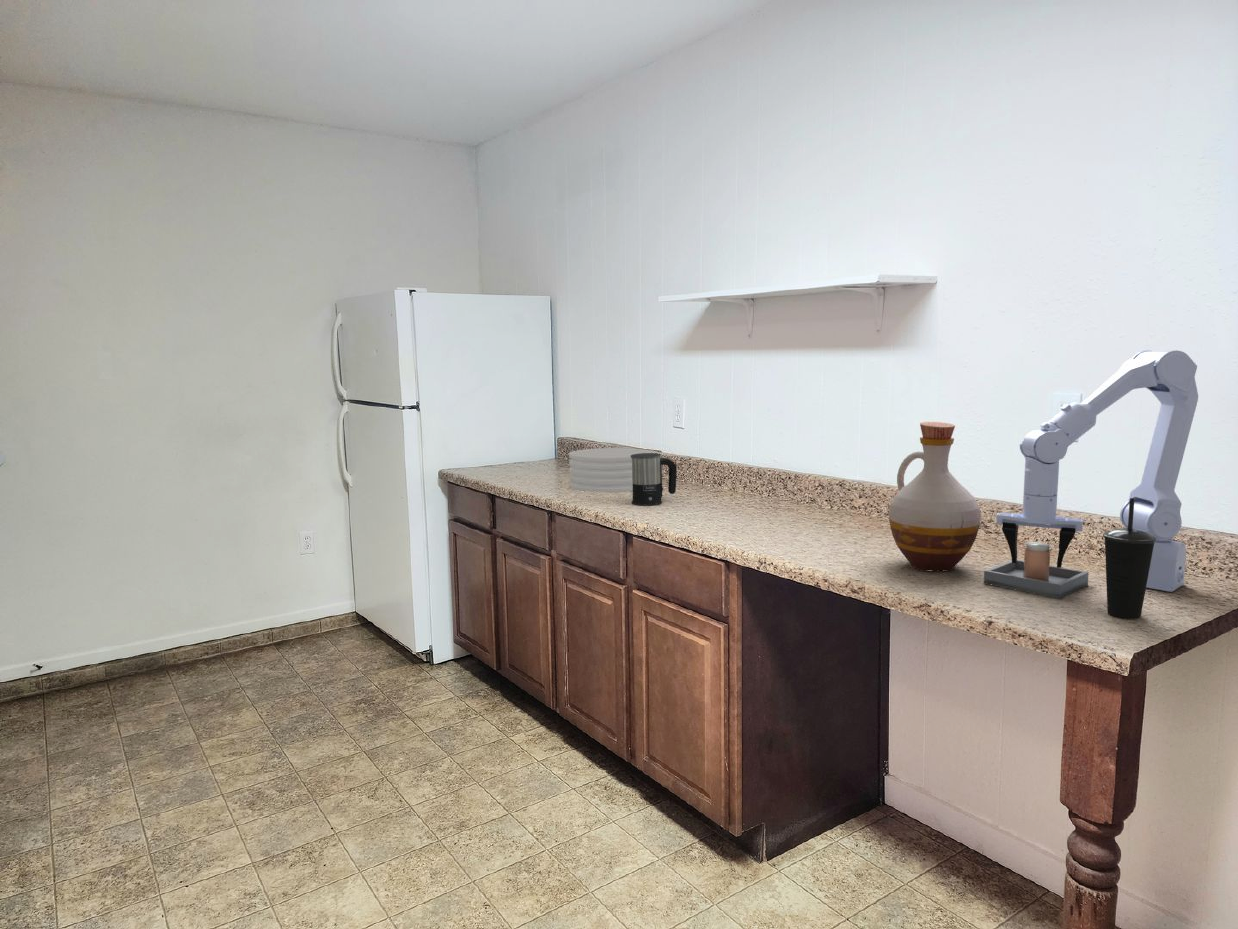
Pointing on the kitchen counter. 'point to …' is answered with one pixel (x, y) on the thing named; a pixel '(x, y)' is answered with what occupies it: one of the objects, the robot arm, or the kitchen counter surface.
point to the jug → (933, 506)
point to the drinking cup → (1127, 568)
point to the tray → (1057, 587)
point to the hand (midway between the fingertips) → (1036, 564)
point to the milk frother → (650, 478)
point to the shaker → (1037, 561)
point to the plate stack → (602, 469)
